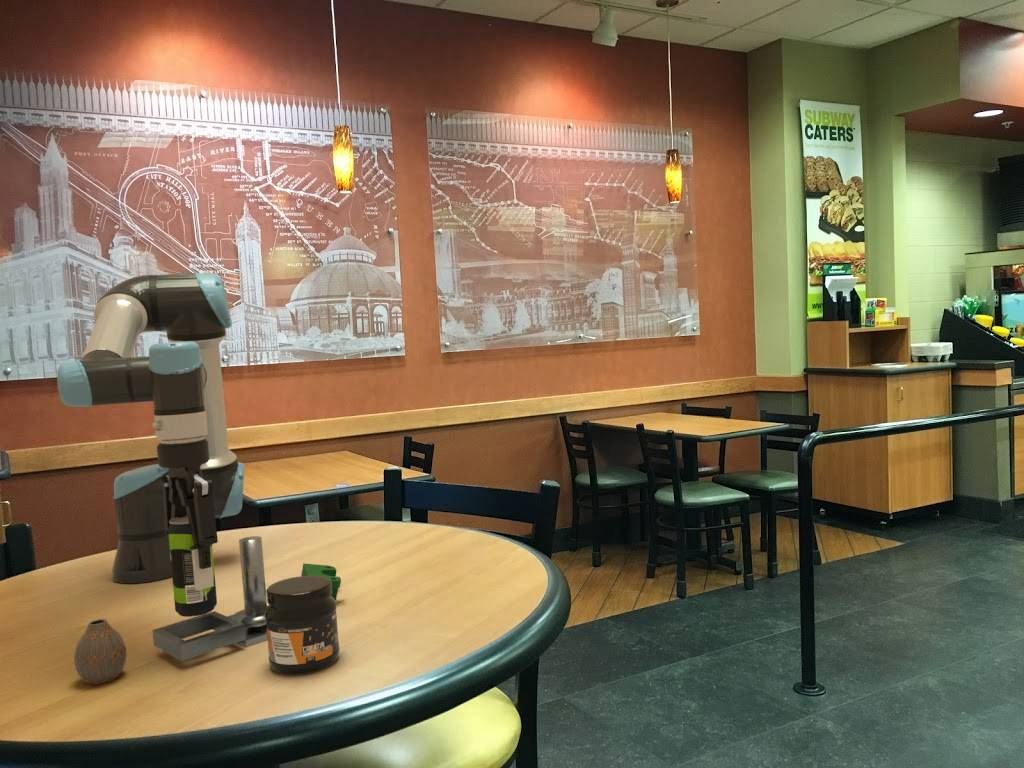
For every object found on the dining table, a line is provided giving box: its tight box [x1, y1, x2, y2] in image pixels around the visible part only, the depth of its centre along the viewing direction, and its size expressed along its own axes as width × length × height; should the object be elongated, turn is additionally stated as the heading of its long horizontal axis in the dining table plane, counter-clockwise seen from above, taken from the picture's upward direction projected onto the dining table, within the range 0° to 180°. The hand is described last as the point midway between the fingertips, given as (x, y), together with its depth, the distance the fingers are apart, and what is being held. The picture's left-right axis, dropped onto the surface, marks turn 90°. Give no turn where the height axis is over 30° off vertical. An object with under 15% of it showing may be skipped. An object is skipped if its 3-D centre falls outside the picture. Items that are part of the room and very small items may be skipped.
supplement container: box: [265, 575, 340, 675], centre depth 123 cm, size 10×10×12 cm
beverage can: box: [168, 516, 218, 618], centre depth 129 cm, size 6×6×15 cm
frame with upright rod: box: [151, 535, 268, 662], centre depth 133 cm, size 10×20×16 cm, turn 136°
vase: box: [73, 618, 127, 685], centre depth 121 cm, size 7×7×9 cm
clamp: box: [300, 562, 342, 602], centre depth 153 cm, size 12×6×9 cm, turn 14°
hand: (194, 584), depth 129 cm, fingers closed on beverage can, 6 cm apart
